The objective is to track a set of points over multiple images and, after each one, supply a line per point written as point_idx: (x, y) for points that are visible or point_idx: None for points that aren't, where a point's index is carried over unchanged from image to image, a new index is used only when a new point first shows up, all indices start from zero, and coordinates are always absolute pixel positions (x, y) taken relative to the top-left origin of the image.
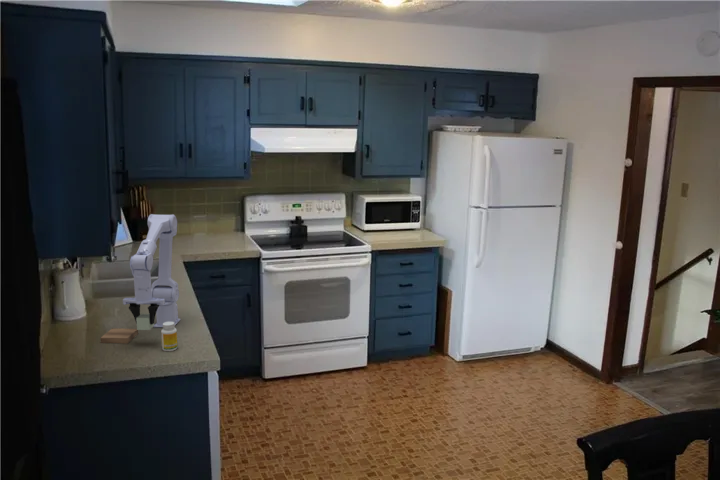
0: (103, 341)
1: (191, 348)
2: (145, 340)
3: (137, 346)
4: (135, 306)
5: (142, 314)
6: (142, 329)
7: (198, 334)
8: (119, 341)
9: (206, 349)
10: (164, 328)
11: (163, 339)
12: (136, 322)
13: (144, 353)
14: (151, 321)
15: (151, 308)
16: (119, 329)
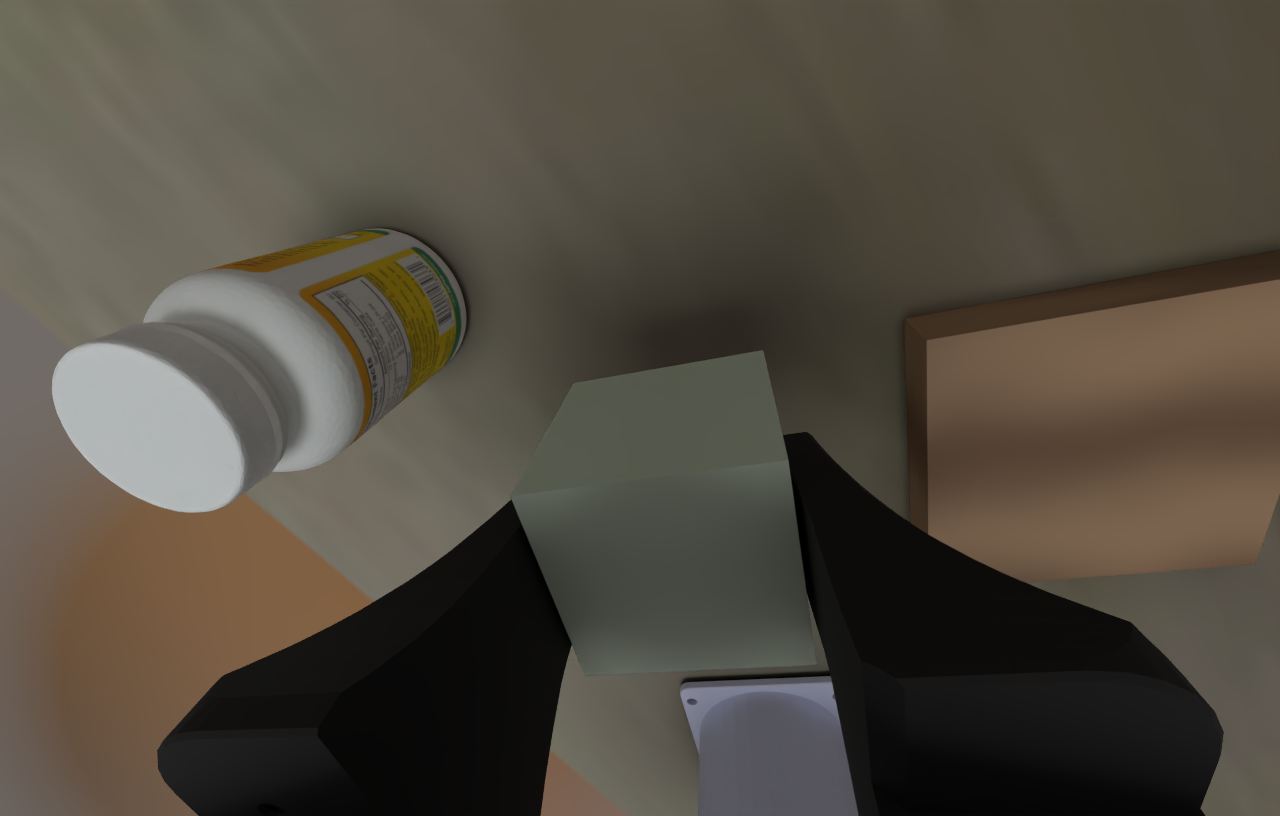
0: (1256, 262)
1: None
2: None
3: (749, 268)
4: (898, 785)
5: (765, 638)
6: (675, 367)
7: None
8: (1020, 306)
9: None
10: (194, 328)
11: (317, 255)
12: (807, 442)
13: (546, 93)
14: None
15: (245, 695)
16: (1144, 548)
